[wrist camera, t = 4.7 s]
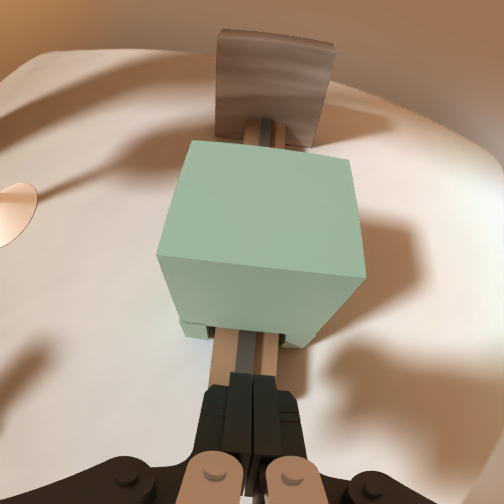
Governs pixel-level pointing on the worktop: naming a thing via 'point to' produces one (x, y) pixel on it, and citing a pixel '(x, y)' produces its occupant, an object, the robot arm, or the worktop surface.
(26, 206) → the champagne flute
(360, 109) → the worktop surface
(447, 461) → the worktop surface
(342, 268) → the block
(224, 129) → the rail
